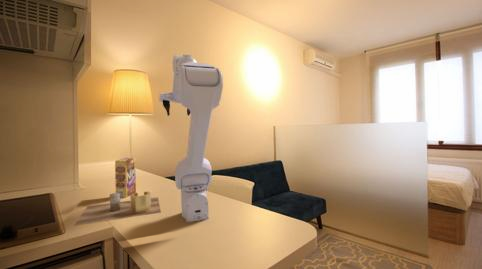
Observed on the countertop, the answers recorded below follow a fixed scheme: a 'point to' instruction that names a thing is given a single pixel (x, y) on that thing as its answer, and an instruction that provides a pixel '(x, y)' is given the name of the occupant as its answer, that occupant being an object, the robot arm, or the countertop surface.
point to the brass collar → (140, 202)
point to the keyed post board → (107, 215)
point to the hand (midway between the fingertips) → (178, 113)
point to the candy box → (125, 177)
